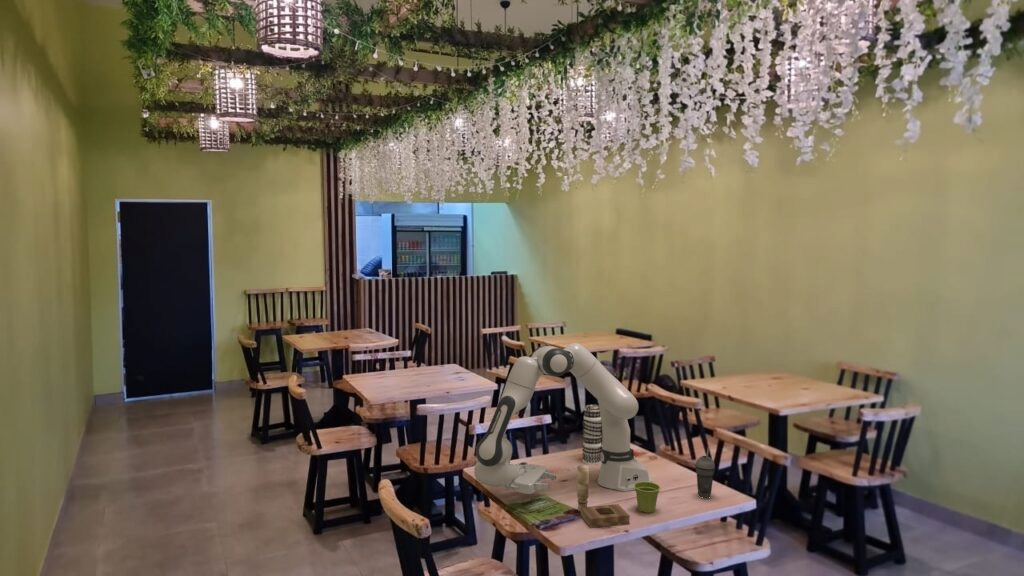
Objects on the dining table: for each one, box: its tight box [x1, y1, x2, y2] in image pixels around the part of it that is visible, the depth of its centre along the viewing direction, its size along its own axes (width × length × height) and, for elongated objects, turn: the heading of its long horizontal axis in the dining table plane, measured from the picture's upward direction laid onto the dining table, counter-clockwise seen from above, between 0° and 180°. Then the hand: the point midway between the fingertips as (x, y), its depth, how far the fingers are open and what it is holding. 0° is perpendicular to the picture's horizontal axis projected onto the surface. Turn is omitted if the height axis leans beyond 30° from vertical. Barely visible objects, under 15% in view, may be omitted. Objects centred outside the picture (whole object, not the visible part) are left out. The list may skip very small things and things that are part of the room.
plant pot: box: [634, 482, 661, 514], centre depth 229 cm, size 9×9×9 cm
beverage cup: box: [694, 445, 716, 499], centre depth 242 cm, size 7×7×20 cm
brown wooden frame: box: [580, 503, 631, 529], centre depth 221 cm, size 14×10×3 cm
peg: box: [576, 464, 590, 513], centre depth 228 cm, size 4×4×16 cm
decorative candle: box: [581, 404, 602, 465], centre depth 281 cm, size 9×9×25 cm
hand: (552, 481), depth 232 cm, fingers open, 8 cm apart
